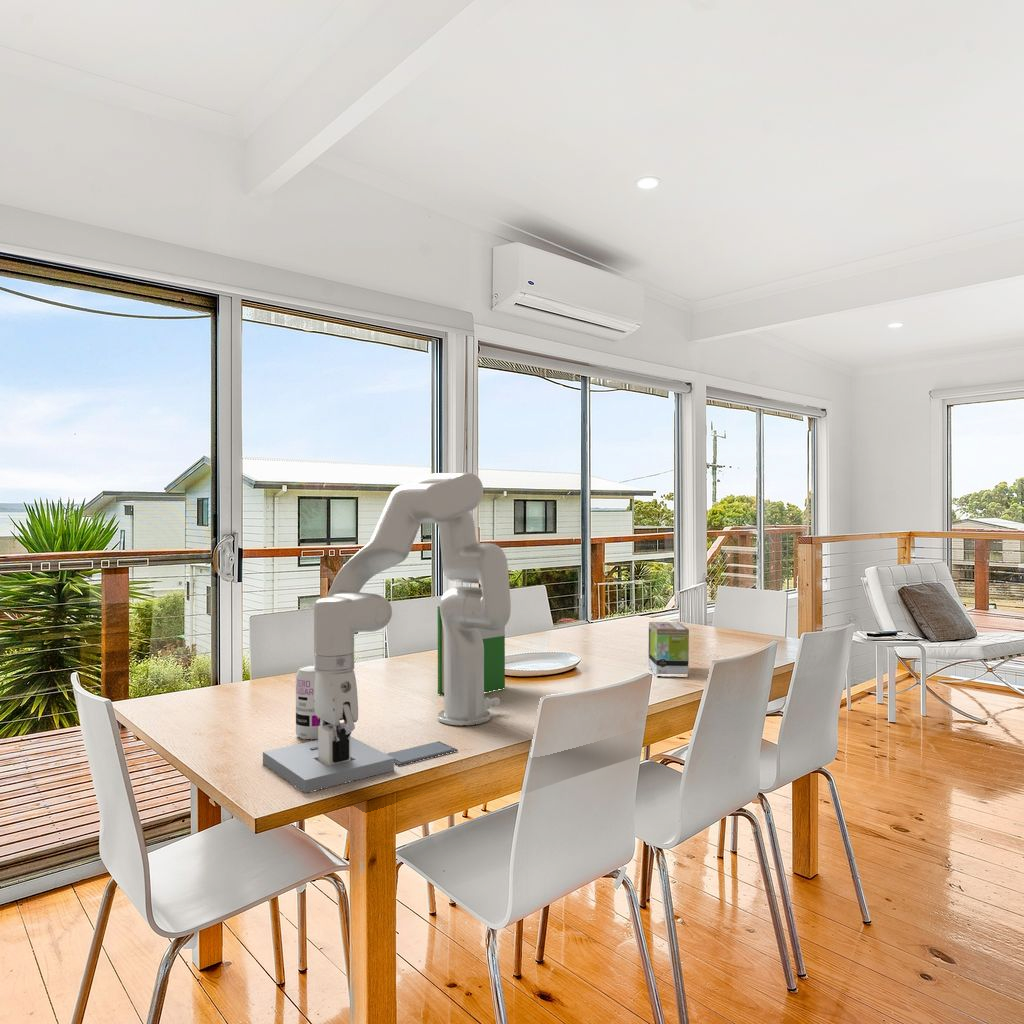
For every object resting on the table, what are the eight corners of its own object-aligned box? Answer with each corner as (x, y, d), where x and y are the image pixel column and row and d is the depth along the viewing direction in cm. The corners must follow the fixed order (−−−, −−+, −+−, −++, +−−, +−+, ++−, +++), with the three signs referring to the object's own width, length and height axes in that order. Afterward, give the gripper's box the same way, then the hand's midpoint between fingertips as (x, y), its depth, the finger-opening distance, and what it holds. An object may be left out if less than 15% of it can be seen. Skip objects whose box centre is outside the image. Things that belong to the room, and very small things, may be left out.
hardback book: (454, 700, 195) (453, 609, 195) (437, 694, 200) (437, 606, 200) (504, 689, 207) (504, 603, 206) (488, 684, 212) (487, 601, 212)
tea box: (689, 678, 220) (689, 628, 220) (655, 678, 220) (655, 628, 220) (679, 667, 235) (679, 620, 235) (647, 667, 235) (647, 620, 235)
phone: (439, 745, 159) (438, 740, 159) (457, 754, 153) (457, 748, 153) (381, 760, 150) (381, 754, 150) (398, 769, 145) (398, 763, 145)
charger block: (339, 757, 145) (339, 721, 145) (350, 763, 141) (350, 726, 141) (318, 762, 142) (318, 725, 142) (328, 769, 139) (328, 730, 139)
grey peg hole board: (346, 745, 158) (346, 733, 158) (394, 770, 142) (394, 757, 142) (262, 763, 146) (262, 750, 146) (305, 793, 131) (305, 779, 131)
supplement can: (337, 729, 169) (337, 663, 169) (329, 740, 161) (329, 671, 161) (301, 729, 169) (301, 664, 169) (291, 741, 160) (291, 672, 160)
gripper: (373, 666, 138) (373, 764, 138) (332, 653, 151) (333, 742, 151) (336, 672, 133) (336, 773, 133) (297, 658, 146) (297, 750, 146)
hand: (334, 756), depth 142 cm, fingers closed on charger block, 4 cm apart
